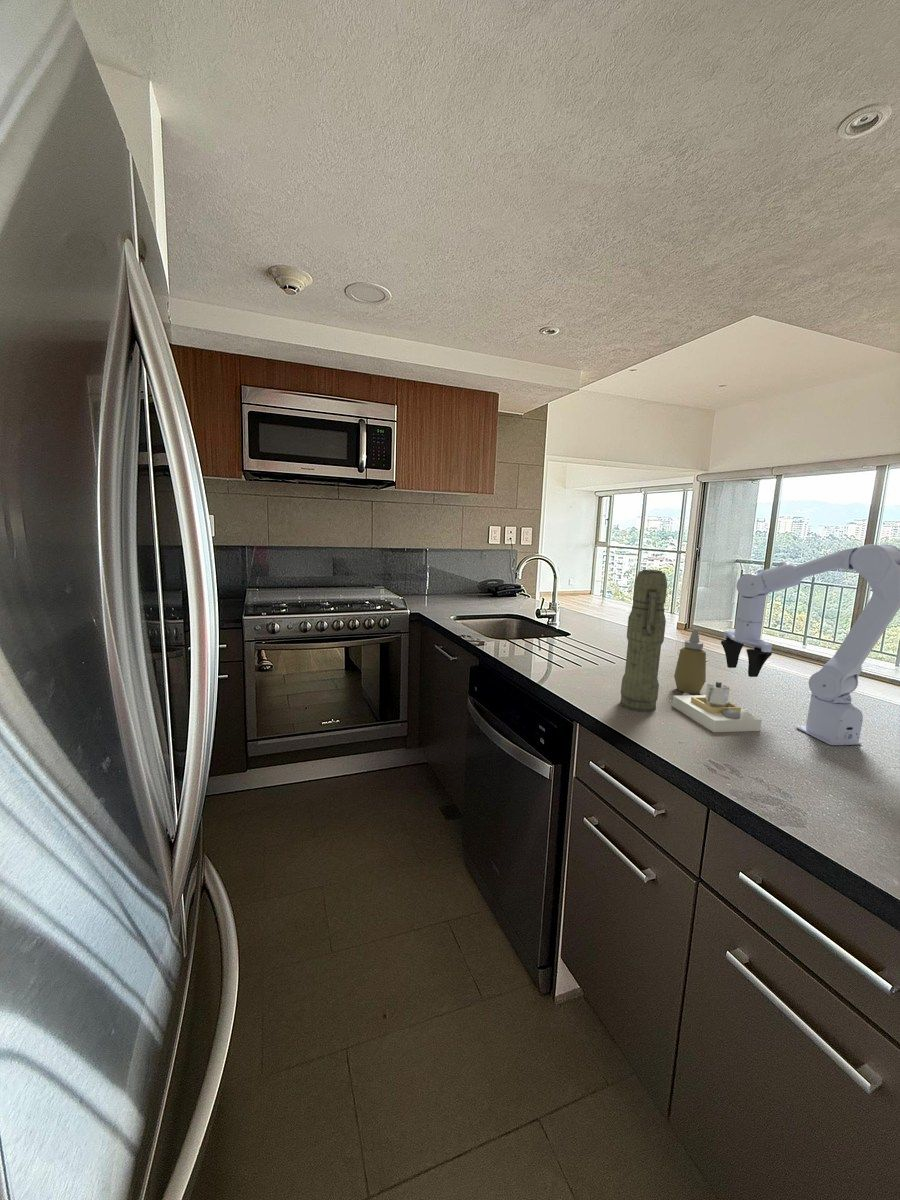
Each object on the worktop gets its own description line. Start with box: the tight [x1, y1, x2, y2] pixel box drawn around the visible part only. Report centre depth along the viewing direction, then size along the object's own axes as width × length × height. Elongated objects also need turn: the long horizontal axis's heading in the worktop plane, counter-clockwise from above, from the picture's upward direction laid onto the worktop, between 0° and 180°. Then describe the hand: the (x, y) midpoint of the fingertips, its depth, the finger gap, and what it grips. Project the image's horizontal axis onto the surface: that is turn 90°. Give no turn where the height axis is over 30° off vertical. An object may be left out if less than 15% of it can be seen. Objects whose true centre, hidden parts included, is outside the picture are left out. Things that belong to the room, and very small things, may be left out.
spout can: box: [705, 681, 730, 707], centre depth 120 cm, size 5×5×9 cm
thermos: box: [620, 569, 668, 713], centre depth 125 cm, size 9×12×35 cm
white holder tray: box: [671, 692, 763, 733], centre depth 122 cm, size 20×12×4 cm, turn 8°
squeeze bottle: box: [673, 628, 707, 695], centre depth 139 cm, size 8×8×18 cm
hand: (741, 671), depth 128 cm, fingers open, 7 cm apart
